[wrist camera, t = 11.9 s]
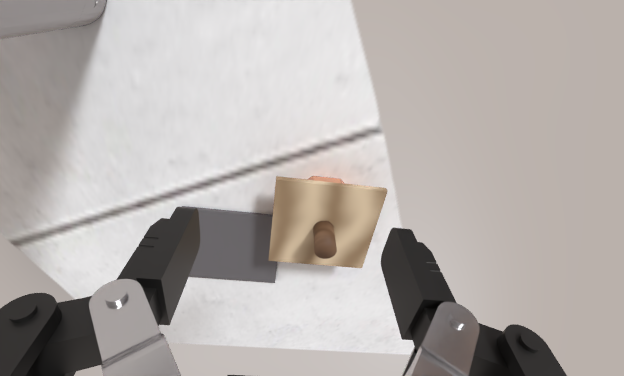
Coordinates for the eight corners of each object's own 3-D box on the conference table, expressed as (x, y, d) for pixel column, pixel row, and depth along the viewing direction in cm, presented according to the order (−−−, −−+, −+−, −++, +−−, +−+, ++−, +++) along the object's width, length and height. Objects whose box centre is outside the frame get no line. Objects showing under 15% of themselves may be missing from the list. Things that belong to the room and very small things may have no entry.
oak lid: (268, 256, 48) (265, 283, 44) (276, 176, 40) (273, 199, 36) (361, 264, 50) (366, 291, 46) (386, 188, 42) (396, 211, 37)
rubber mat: (189, 274, 57) (188, 276, 57) (182, 206, 49) (181, 208, 48) (274, 280, 59) (274, 282, 59) (282, 215, 50) (282, 217, 50)
